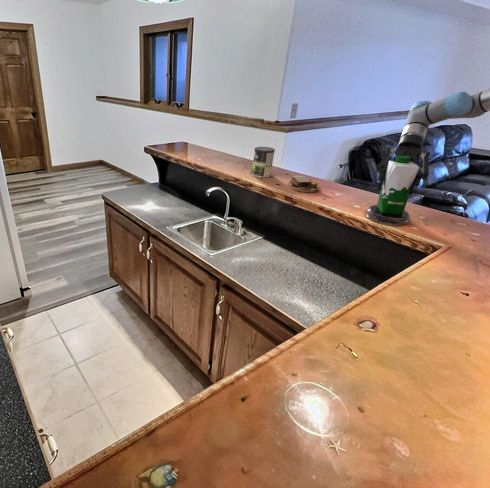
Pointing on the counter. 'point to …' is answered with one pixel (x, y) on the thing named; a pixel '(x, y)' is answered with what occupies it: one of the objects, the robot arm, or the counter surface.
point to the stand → (387, 217)
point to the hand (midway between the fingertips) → (395, 190)
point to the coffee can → (262, 162)
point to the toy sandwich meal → (303, 184)
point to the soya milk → (397, 185)
